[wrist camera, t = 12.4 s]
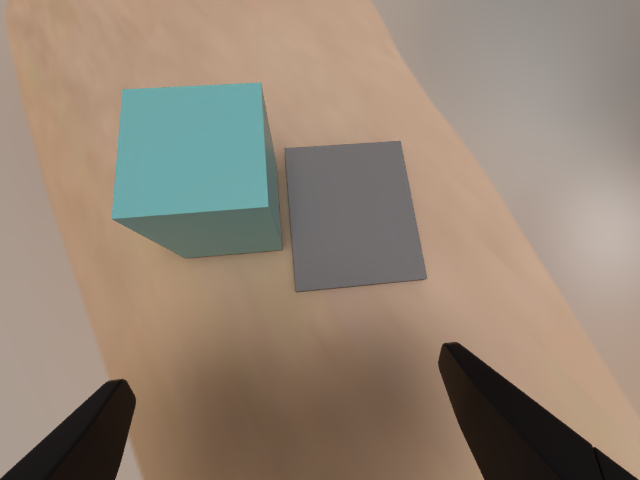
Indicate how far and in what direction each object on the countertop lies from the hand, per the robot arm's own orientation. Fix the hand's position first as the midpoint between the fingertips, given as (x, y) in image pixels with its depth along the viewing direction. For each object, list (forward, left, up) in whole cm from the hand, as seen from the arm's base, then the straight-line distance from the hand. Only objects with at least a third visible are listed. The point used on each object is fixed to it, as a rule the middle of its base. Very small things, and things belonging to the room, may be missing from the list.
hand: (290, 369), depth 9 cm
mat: (+10, -5, -14) cm, 17 cm away
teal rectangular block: (+11, +5, -14) cm, 18 cm away
